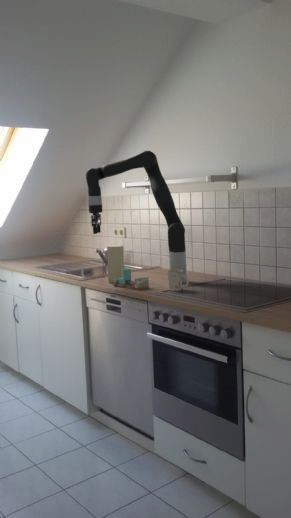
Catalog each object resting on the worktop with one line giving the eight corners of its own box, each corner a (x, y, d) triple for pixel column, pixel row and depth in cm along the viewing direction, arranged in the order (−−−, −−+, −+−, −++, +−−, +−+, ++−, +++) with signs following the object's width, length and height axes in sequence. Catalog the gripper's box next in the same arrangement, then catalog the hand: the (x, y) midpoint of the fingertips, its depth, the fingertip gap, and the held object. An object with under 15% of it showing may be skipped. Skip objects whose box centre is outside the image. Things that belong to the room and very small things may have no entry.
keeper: (131, 283, 281) (130, 268, 280) (124, 284, 277) (123, 270, 276) (125, 282, 284) (124, 268, 283) (118, 283, 281) (117, 269, 280)
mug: (174, 288, 269) (173, 269, 267) (193, 290, 261) (193, 270, 259) (164, 290, 262) (163, 271, 261) (184, 292, 254) (183, 273, 253)
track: (148, 287, 273) (148, 276, 272) (137, 290, 267) (137, 278, 267) (124, 284, 287) (124, 273, 287) (113, 286, 282) (113, 275, 281)
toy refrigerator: (125, 280, 299) (123, 245, 296) (121, 283, 292) (119, 246, 289) (112, 280, 301) (110, 245, 298) (108, 282, 294) (106, 246, 291)
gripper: (99, 204, 278) (101, 234, 280) (104, 203, 292) (106, 232, 294) (85, 204, 279) (87, 234, 281) (91, 204, 293) (93, 232, 295)
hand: (97, 233), depth 287 cm, fingers open, 8 cm apart
